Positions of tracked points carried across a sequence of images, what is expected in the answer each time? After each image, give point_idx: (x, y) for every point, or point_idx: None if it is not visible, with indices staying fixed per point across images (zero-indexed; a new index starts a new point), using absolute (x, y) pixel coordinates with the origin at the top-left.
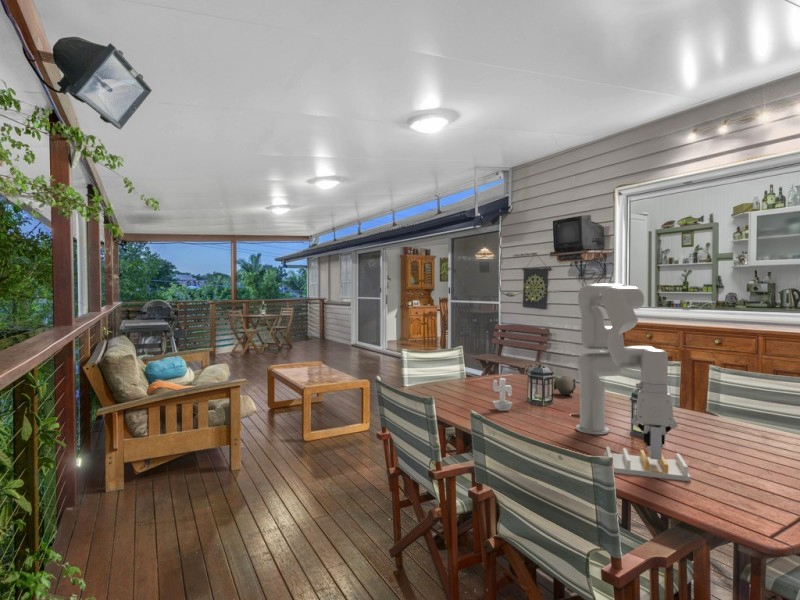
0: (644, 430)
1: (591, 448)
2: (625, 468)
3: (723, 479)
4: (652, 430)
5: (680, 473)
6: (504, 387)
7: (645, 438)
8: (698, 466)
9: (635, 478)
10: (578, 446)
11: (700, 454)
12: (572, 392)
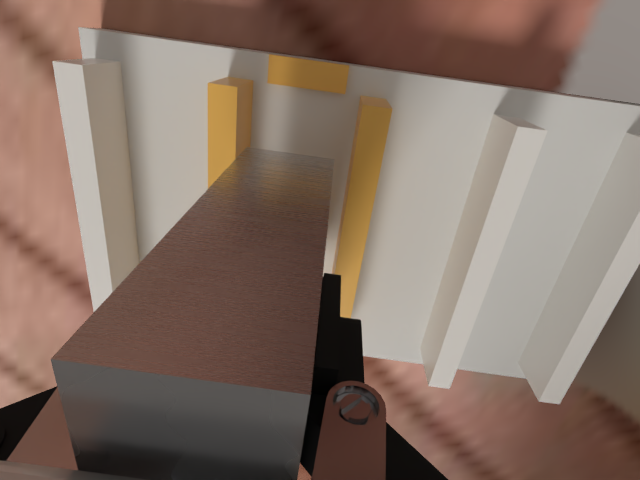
0: (375, 422)
1: (541, 456)
2: (533, 109)
3: None
4: (282, 329)
5: (142, 81)
6: None
7: (350, 346)
8: (42, 299)
9: (485, 3)
10: (602, 473)
11: None
12: None
